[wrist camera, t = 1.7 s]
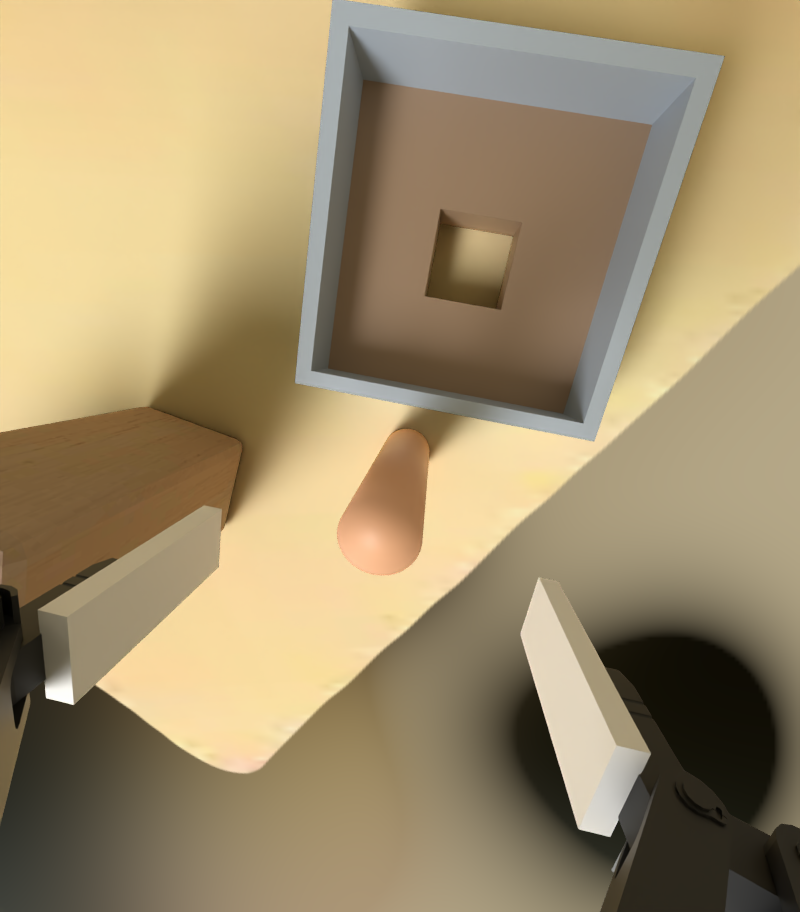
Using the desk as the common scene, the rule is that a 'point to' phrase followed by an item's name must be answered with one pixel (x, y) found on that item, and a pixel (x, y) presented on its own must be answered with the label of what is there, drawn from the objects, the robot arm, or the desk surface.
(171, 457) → the wooden block
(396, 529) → the peg
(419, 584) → the desk surface
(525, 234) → the bore box
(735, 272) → the desk surface
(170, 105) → the desk surface
